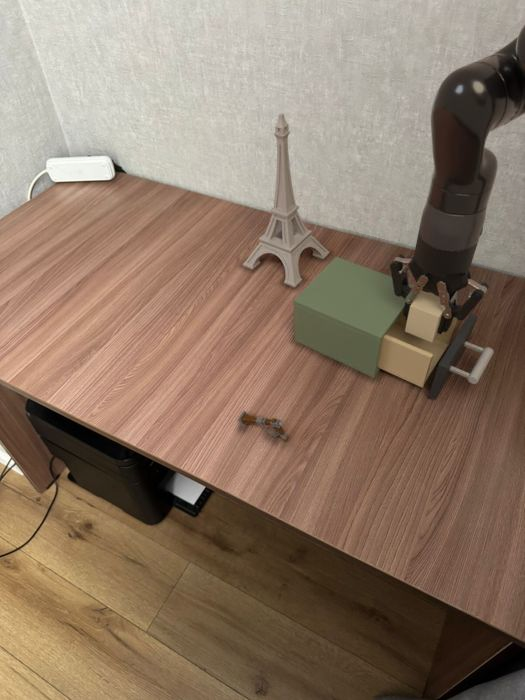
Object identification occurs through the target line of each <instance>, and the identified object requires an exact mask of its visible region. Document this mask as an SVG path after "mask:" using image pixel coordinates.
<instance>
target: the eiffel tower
mask: <svg viewBox="0 0 525 700" xmlns="http://www.w3.org/2000/svg"><path fill="white" fill-rule="evenodd" d="M289 127H290V126H289V123H288V122H287V120H286V118H285V113H282V112H280V113H279V114H278V118H277V122H276V124H275V126H274V133H273V135H274V137H275V138H276V174H275V175H276V177H275V191H274V200H273V207H272V208H271V209H270V210H269V212H270V213H271V217H270V219H269V222H268V225H267V227H266V230H265V233H263V234H262V235H261V236H259V238H258V241H259V243H258V244H257V245H256V247H255V248H254V249H253V251H252V252H251V253H250V255H248V257H247V258H246V260H245V261H244V262H243V263H242V266H243V267H245V268H248V269H250V270H252V271H253V270H254V269H255V268H257V267H258V266H259V265H260V264H261V261H260V259H261V257H262V256H263V255H264V254H273V255H274V256H277V258H279V259H280V261H281V263H282V264H283V267H284V271H285V272H284V273H285V279H284V281H283V283H284V284H285V285H288V286H290V287H292V288H296V287H297V286H298V285H300V284H301V282H302V281H303V278H301V274H300V269H299V261H300V256H301V254H302V252H303V251H304V250H305V249H307V248H310V249H311V250H312V256H313V257H315V258H318V259H321V260H325V258H326V257H328V255H329V254H330V253H331V251H330V250H328V249H327V248H326V247H325V246H324V245H322V243H321V242H320V241H318V240H317V239H316V238H315V237H314V236H313V235H312V233H313V230H310V229H308V228H307V227H306V225H305V224H304V222H303V220H302V218H301V216H300V214H299V211H298V210H299V208H300V206H299V205H297V204H296V200H295V194H294V188H293V182H292V174H291V167H290V166H291V165H290V157H289V155H290V154H289V135H290V133H291V130H290V128H289Z"/></svg>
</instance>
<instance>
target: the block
mask: <svg viewBox="0 0 525 700" xmlns="http://www.w3.org/2000/svg"><path fill="white" fill-rule="evenodd" d="M442 315H443V310H442V306H441V305H440V298H439V297H438V296H436V295H434V294H433V293H428V292H424V291H422V290H421V292H420V293H419V294H418V296H417V297H416V299H415V300H414V301H413V303H412V304H411V305H410V309H409V314H408V319H407V323H406V328H405V332H408V333H410V334H412V335H415V336H417V337H420V338H422V339H425V340H427V341H429V342H433V341H434V339H435V338H436V336H437V335H438V333H437V330H438V327H439V323H440V320H441V317H442Z"/></svg>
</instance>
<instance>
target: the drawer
mask: <svg viewBox="0 0 525 700" xmlns="http://www.w3.org/2000/svg"><path fill="white" fill-rule="evenodd" d="M478 317H479V316H478V315H476V314H474V313H471V312H470V313H469V314H468V315H467V317H466V320H465V321H464V323H463V324H462V326H461V327H460V329H459V331H458V332H457V334H456V336H455V337H454V339H453V340H452V338H453V335H454V333H455V329H456V325H457V323H458V321H459V320H458V319H457V318H456V317H454V318H453V320H452V323H451V326H450V327H449V329H448V331H447V332H442V334H439V333H438V335H437V336H436V338H435V339H434V341H433V342H429V341H427V340H425V339H422V338H420V337H417V336H415V335H412V334H410V333H408V332H405V328H406V323H407V321H406V317H405V316H404V315H403V312H402V313H401V315H400V316H399V317H398V319H397V320H396V321H395V323H394V324H393V325H392V327H391V328H390V329H389V331H388V332H387V333H386V335H385V336H384V337H383V339H382V345H381V351H380V356H379V362H378V368H380V370H383V371H385V372H386V373H389V374H391V375H394V376H395V377H398V378H400V379H402V380H404V381H407V382H409V383H411V384H413V385H415V386H417V387H419V388H424V386H425V385H426V383H427V381H428V379H429V378H430V377H431V375H432V373H433V372H434V371H435V369H436V368H437V369H436V371H435V374H434V378H433V381H432V384H431V387H430V391H429V394H428V397H429V398H431V399H433V400H434V401H435V400H437V399H438V397H439V395H440V394H441V392H442V390H443V388H444V387H445V385H446V383H447V382H448V380H449V378H450V377H451V375H452V373H454V374H457V375H458V376H460V377H463V378H465V379H467V381H468V383H470V384H473V385H477V384H478V382H479V381H480V379H481V377H482V375H483V374H484V372H485V369H486V368H487V366H488V364H489V362H490V361H491V359H492V357H493V355H494V353H495V351H494V349H493V348H491V347H489V346H487V347H481V346H478V345H476V344H473V343H471V342H470V339H471V336H472V333H473V331H474V328H475V325H476V323H477V320H478ZM451 341H452V342H451ZM467 349H470V350H472V351H474V352H477V353H480V355H479V357H478V359H477V360H476V362H475V364H474V366H473V368H472V369H471V371H470V372H467V371H464V370H462V369H460V368H458V367H456V366H457V365H458V363H459V362H460V360H461V358H462V356H463V355H464V353H465V351H466V350H467ZM437 365H438V366H437Z"/></svg>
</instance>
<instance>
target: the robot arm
mask: <svg viewBox="0 0 525 700" xmlns="http://www.w3.org/2000/svg"><path fill="white" fill-rule="evenodd" d="M435 93H436V94H435V95H434V98H433V102H432V105H431V109H430V133H431V148H432V149H431V151H432V159H433V171H432V175H431V179H430V182H429V183H430V184H429V187H428V188H429V189H428V193H427V194H428V195H427V198H426V201H425V204H424V207H423V209H422V213H421V218H420V223H419V228H418V234H417V237H416V242H415V247H414V253H413V257H412V258H406V257H405V255H404V254H401V253H399V254H398V255H397V256H396V257H395V258H394V260H392V262H390V264H389V269H390V274H391V277H392V281H393V287H394V293H395V295H396V296H398V297H400V296H402V297H403V298H404V299H405V306H404V311H403V315H404V316H405V317H406V321H407V319H408V314H409V309H410V305H411V304H412V303H413V301H414V300H415V299H416V297H417V296H418V295H419V293H420V292H421V291H424V292H428V293H433V294H434V295H436V296H438V297H439V298H440V305H441V306H442V310H443V315H442V317H441V320H440V323H439V327H438V330H437V333H439V334H442V332H447V331H448V329H449V327H450V326H451V323H452V320H453V318H454V317H456V318H457V319H458V320H457V321H464V320H465V319H467V317H468V316H469V315H470V313H471V312H472V311H473V310H474V309H475V307H476V306H477V305H478V304H479V303H480V302H481V300H482V299H483V298H484V296H485V295H486V293H487V291H488V290H489V288H490V286H489V284H488V283H487V282H481V283H479V282H477V281H475V280H474V279H472V274H471V266H472V263H473V260H474V256H475V253H476V250H477V247H478V244H479V241H480V238H481V236H482V234H483V230H484V225H485V220H486V215H487V209H488V204H489V200H490V197H491V194H492V191H493V188H494V185H495V181H496V179H497V178H496V177H497V173H498V169H499V168H498V167H499V161H498V159H497V156H496V154H495V153H494V152H493V151H491V149H490V148H487V147H486V142H487V138H488V136H489V134H490V132H493V131H495V130H497V129H499V128H500V127H503V126H505V125H507V124H509V123H511V122H513V121H515V120H516V119H518V118H520V117H521V116H523V115H525V24H524V25H523V26H522V28H521V29H520V32H519V34H518V36H517V37H516V38H514V39H512V41H510V42H509V43H507V44H506V45H505V46H503V47H501V48H500V49H499V50H497V51H495V52H494V53H493V54H490V55H488V56H485V57H483V58H481V59H479V60H476V61H474V62H470V63H468V64H466V65H463V66H460V67H459V68H457V69H455V70H453V71H451V72H450V73H449V74H448V75H447V76H446V77H445V78H444V79H443V81H442V82H441V83H440V85H439V87H438V89H437V90H436V92H435ZM408 270H409V272H410V273H411V275H412V277H413V279H414V281H415V283H414V284H413V285H414V287H413V288H410V287H409V283H410V282H409V277H408ZM464 288H466V290H467V291H466V298H467V300H465V302H464V303H463V304H462V305H461V304H458V295H459V291H461V290H462V289H464Z"/></svg>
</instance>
